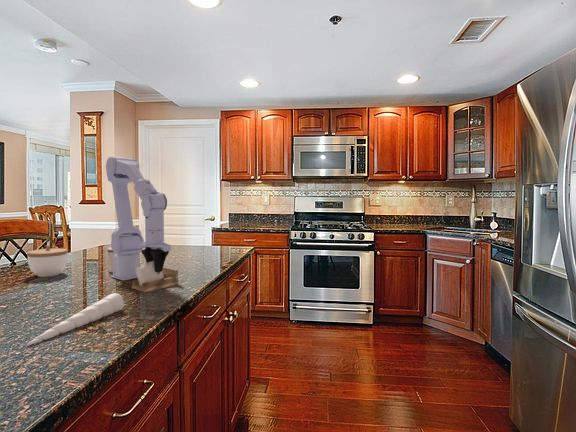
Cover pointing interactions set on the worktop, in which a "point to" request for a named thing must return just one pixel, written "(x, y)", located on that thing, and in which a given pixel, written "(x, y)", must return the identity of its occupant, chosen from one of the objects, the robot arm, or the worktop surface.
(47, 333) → the unicorn horn
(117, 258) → the robot arm
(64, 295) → the worktop surface
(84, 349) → the worktop surface
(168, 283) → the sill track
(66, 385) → the worktop surface
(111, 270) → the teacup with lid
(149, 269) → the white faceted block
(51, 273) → the lidded bowl
